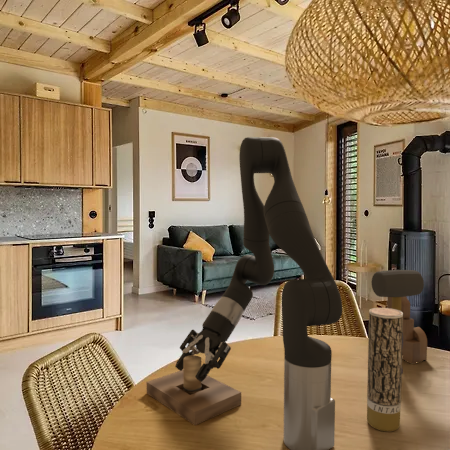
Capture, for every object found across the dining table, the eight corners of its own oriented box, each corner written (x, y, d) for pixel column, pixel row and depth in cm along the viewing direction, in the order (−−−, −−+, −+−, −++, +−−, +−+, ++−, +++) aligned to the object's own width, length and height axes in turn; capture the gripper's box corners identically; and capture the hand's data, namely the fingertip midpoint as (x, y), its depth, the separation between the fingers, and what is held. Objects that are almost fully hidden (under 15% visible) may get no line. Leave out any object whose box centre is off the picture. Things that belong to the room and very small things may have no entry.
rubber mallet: (406, 369, 120) (409, 267, 118) (423, 380, 113) (426, 271, 111) (367, 373, 117) (369, 268, 116) (382, 384, 110) (385, 272, 108)
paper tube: (361, 417, 93) (364, 307, 92) (390, 416, 94) (393, 307, 92) (374, 433, 87) (377, 316, 85) (406, 432, 87) (409, 315, 86)
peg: (205, 398, 102) (205, 359, 101) (190, 404, 99) (190, 363, 98) (194, 392, 105) (194, 353, 105) (179, 398, 102) (179, 358, 102)
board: (241, 404, 99) (241, 392, 99) (194, 425, 90) (194, 411, 90) (190, 377, 114) (190, 367, 114) (146, 393, 105) (146, 381, 104)
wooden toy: (428, 361, 127) (430, 280, 125) (412, 364, 124) (414, 281, 122) (389, 345, 141) (390, 272, 139) (374, 347, 138) (375, 273, 136)
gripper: (198, 305, 111) (162, 358, 104) (234, 316, 100) (197, 375, 93) (213, 320, 115) (179, 372, 108) (250, 333, 104) (215, 391, 97)
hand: (187, 374), depth 101 cm, fingers open, 8 cm apart
